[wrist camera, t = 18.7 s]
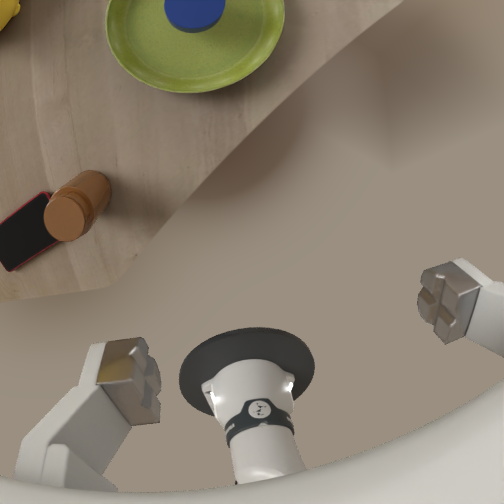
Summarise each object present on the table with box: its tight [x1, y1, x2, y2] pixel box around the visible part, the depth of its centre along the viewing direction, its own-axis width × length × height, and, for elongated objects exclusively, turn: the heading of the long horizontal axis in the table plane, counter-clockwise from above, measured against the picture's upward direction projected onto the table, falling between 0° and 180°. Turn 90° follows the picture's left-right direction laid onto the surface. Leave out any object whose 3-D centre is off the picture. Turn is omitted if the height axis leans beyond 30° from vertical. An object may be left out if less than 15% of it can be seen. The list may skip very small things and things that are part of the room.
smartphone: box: [0, 191, 60, 272], centre depth 37 cm, size 7×1×15 cm
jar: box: [44, 170, 111, 242], centre depth 33 cm, size 6×6×10 cm
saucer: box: [105, 0, 285, 93], centre depth 28 cm, size 21×21×3 cm
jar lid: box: [164, 0, 225, 33], centre depth 26 cm, size 6×6×2 cm
